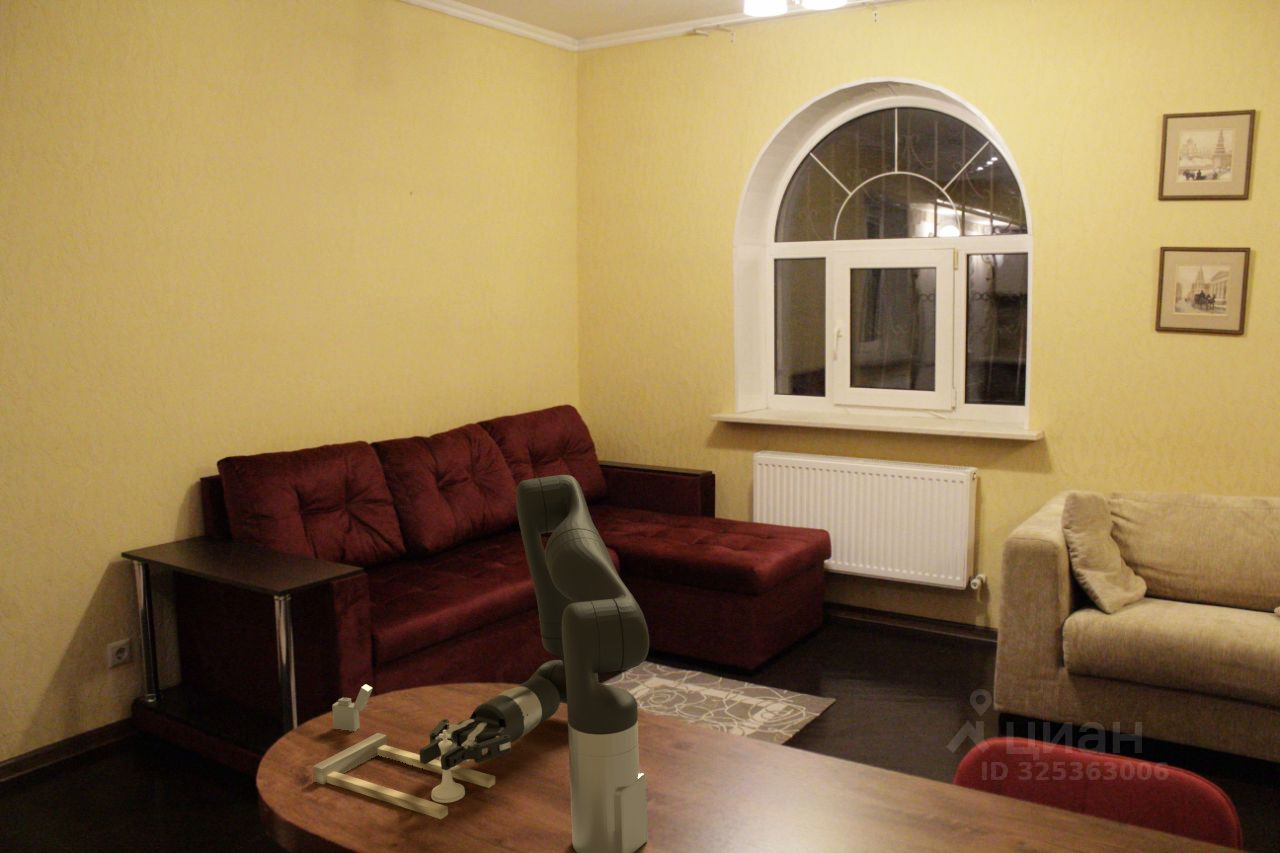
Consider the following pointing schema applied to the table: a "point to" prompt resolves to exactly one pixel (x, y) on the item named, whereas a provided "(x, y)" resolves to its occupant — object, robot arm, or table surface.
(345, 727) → the lighter
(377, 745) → the track
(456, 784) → the chess piece
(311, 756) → the table surface
